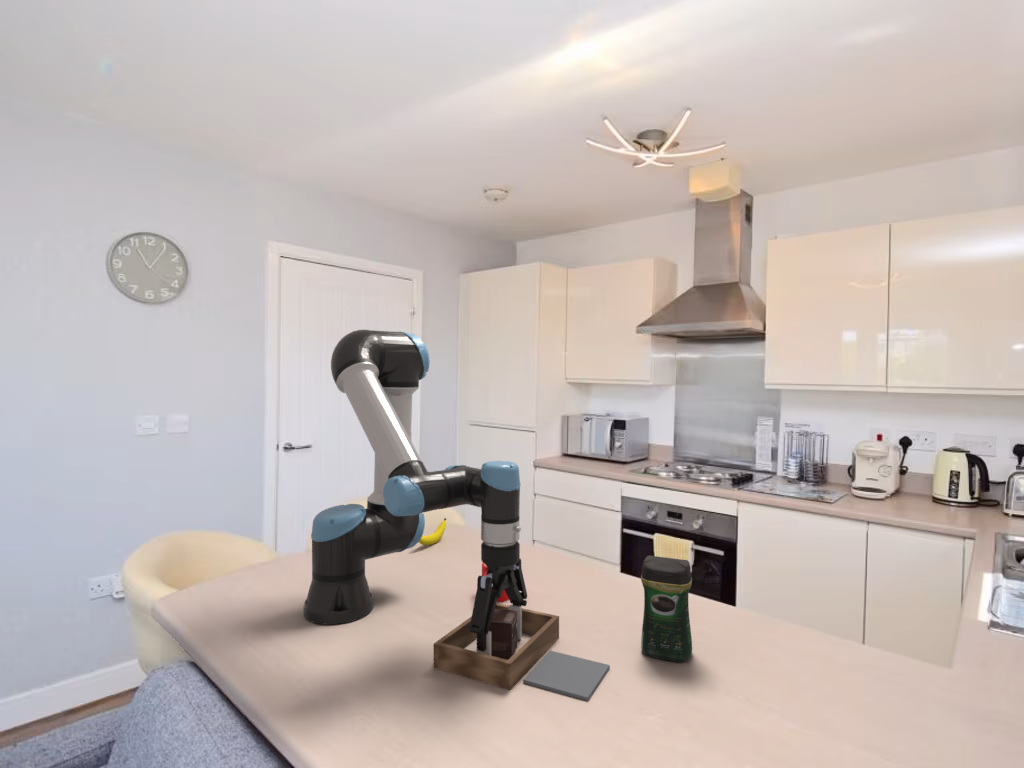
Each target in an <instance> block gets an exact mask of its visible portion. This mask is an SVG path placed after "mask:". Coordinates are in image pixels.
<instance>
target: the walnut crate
mask: <svg viewBox="0 0 1024 768" xmlns="http://www.w3.org/2000/svg"><path fill="white" fill-rule="evenodd" d="M509 605H510V604H503V603H500V602H497V604H496V608H495V609H501V610H508V606H509ZM471 618H472V615H471V616H470V617H468V618H467V619H466V620H464V621H463V622H461V623H460V624H459V625H458V626H455V628H453V629H452V630H450V631H449V632H448V633H447V634H445V635H444V636H442V637H441V638H439V639H438V640H437V641H435V642H434V643H433V669H437V670H440V671H444V672H446V673H451V674H454V675H457V676H461V677H464V678H467V679H472V680H474V681H477V682H481V683H484V684H489V685H492V686H496V687H499V688H502V689H506V690H510V691H511V690H512V689H513V688H514V687H515V686H516V685H517V683H518V682H520V680H521V679H522V678H524V676H525V675H526V674H527V672H529V671H530V669H531V668H532V667H533V666H534V665H535V664H536V663H537V662H538V661H539V660H540V659H541V658H542V657H543V656H544V654H545V653H547V651H548V650H549V649H550V648H551V647H552V646H553V645H554V644H555V643H556V642H557V641H558V640H559V639H560V616H559V615H557V614H556V615H554V614H551V613H546V612H541V611H536V610H531V609H527V608H523V607H522V633H526V634H530V635H532V636H531V637H530V638H529V639H528V640H527V641H526V642H525V643H524V644H523V645H522V646H521V647H520V648H518V649H517V650H516V651H515V654H514V655H513V656H512V657H511V658H510V659H509V660H506V659H502V658H498V657H494V656H490V655H487V654H483V653H479V652H477V651H476V650H471V649H467V648H466V647H467V646H469V645H470V644H471V643H473V642H474V641H476V640H477V634H476V633H473V632H470V631H469V628H470V623H471Z"/></svg>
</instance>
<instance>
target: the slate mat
mask: <svg viewBox="0 0 1024 768" xmlns="http://www.w3.org/2000/svg"><path fill="white" fill-rule="evenodd" d="M610 667H611V666H610V664H608V663H603V662H599V661H596V660H590V659H586V658H583V657H578V656H575V655H570V654H565V653H562V652H558V651H553V650H549V651H548V652H546V654H545V655H544V657H543V658H542V659H541V660H540V661H539V662H538V663H537V664H536V665H535V666H534V667H533V668H532V670H531V671H529V673H528V674H527V675H526V676H525V677H523V680H522V683H523V684H525V685H528V686H532V687H536V688H538V689H543V690H547V691H549V692H550V691H551V692H555V693H558V694H561V695H563V696H569V697H571V698H575V699H579V700H583V701H586V702H589V700H590V699H591V698H592V696H593V694H594V692H595V691H596V689H597V688H598V687H599V685H600V684H601V682H602V680H603V679H604V677H605V676H606V675H607V673H608V671H609V670H610Z"/></svg>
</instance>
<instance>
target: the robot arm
mask: <svg viewBox="0 0 1024 768" xmlns="http://www.w3.org/2000/svg"><path fill="white" fill-rule="evenodd" d="M429 354H430V353H429V350H428V347H427V345H426V343H425V342H424V341H423V339H422V338H421V337H420V336H419V335H416V334H414V333H409V332H404V331H387V330H371V329H370V330H369V329H357V330H353V331H351V332H349V333H347V334H345V335H344V336H343V337H342V338H340V340H339V341H338V342H337V344H336V346H335V347H334V348H333V351H332V354H331V359H330V360H331V361H330V370H331V375H332V379H333V382H334V384H335V385H336V387H337V389H338V390H339V391H340V392H341V393H342V394H345V395H346V397H347V399H348V401H349V403H350V405H351V408H352V409H353V411H354V413H355V415H356V417H357V420H358V421H359V424H360V425H361V428H362V430H363V431H364V434H365V436H366V437H367V440H368V442H369V444H370V446H371V448H372V451H373V452H374V467H373V468H374V471H373V473H374V476H373V479H374V481H373V491H372V493H371V494H369V496H367V499H366V501H367V503H366V508H365V506H364V505H362V504H358V503H347V504H339V505H334V506H331V507H328V508H326V509H325V508H324V510H321V511H319V512H318V513H317V514H316V515H315V516H314V518H313V520H312V526H311V527H312V529H311V535H310V537H311V577H312V578H311V582H310V585H309V588H308V591H307V596H306V599H305V601H304V604H303V616H304V618H305V619H306V620H307V621H309V622H311V623H315V624H320V625H337V624H340V625H341V624H344V623H349V622H354V621H356V620H360V619H362V618H363V617H366V616H367V615H369V614H370V613H371V612H372V611H373V608H374V607H373V606H374V603H373V602H374V600H373V599H374V598H373V594H372V592H371V591H370V587H369V582H368V579H367V577H366V560H370V559H374V558H378V557H383V556H386V555H391V554H394V553H402V552H404V551H405V550H409V549H411V548H413V547H416V546H417V544H418V543H419V541H420V539H421V537H422V536H424V532H425V525H426V524H425V523H426V519H425V514H424V513H427V512H428V513H429V512H432V511H436V510H444V509H448V508H454V507H459V506H465V505H469V506H473V507H476V508H480V509H481V516H480V518H481V519H480V520H481V521H480V522H481V524H480V525H481V526H480V540H481V541H482V542H481V544H480V547H481V548H480V555H481V556H480V559H481V562H482V563H484V564H486V566H487V573H486V576H482V575H478V577H477V580H476V581H477V583H476V584H477V585H476V587H477V588H476V593H475V598H474V603H473V608H472V613H471V616H472V618H471V623H470V628H469V631H470V632H473V633H476V634H477V638H476V652H479V653H483V654H487V655H490V656H491V632H490V631H489V628H490V625H491V621H492V618H493V614H494V611H495V608H496V604H497V603H498V602H497V601H498V598H500V597H501V595H502V592H503V590H505V592H506V594H507V596H508V598H509V600H508V601H509V602H510V604H508V605H509V606H508V610H514V611H517V640H521V639H523V636H522V635H523V632H522V608H523V607H526V606H527V603H528V601H527V599H528V592H527V586H526V583H525V579H524V578H525V577H524V574H523V570H522V558H521V557H520V556H521V555H520V551H521V549H520V547H521V546H520V543H519V540H520V532H521V531H522V528H521V526H520V519H521V518H520V501H521V500H520V499H521V498H520V495H521V494H520V493H521V484H522V483H521V480H520V479H521V478H520V468H519V465H518V464H517V463H515V462H513V461H508V460H505V461H503V460H492V461H486V462H484V463H482V465H481V468H479V467H478V468H477V467H473V466H472V467H471V466H467V465H465V464H461V465H458V464H454V465H449V466H447V467H446V468H445V469H442V470H435V471H428V470H427V468H426V466H425V464H424V462H423V461H422V458H421V457H420V455H419V453H418V451H417V449H416V447H415V446H414V443H413V442H412V420H413V419H412V415H413V395H414V393H415V392H416V391H418V390H419V388H420V385H419V384H420V380H422V379H424V378H425V377H426V376H427V372H429V369H430V355H429ZM491 589H492V591H491Z"/></svg>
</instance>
